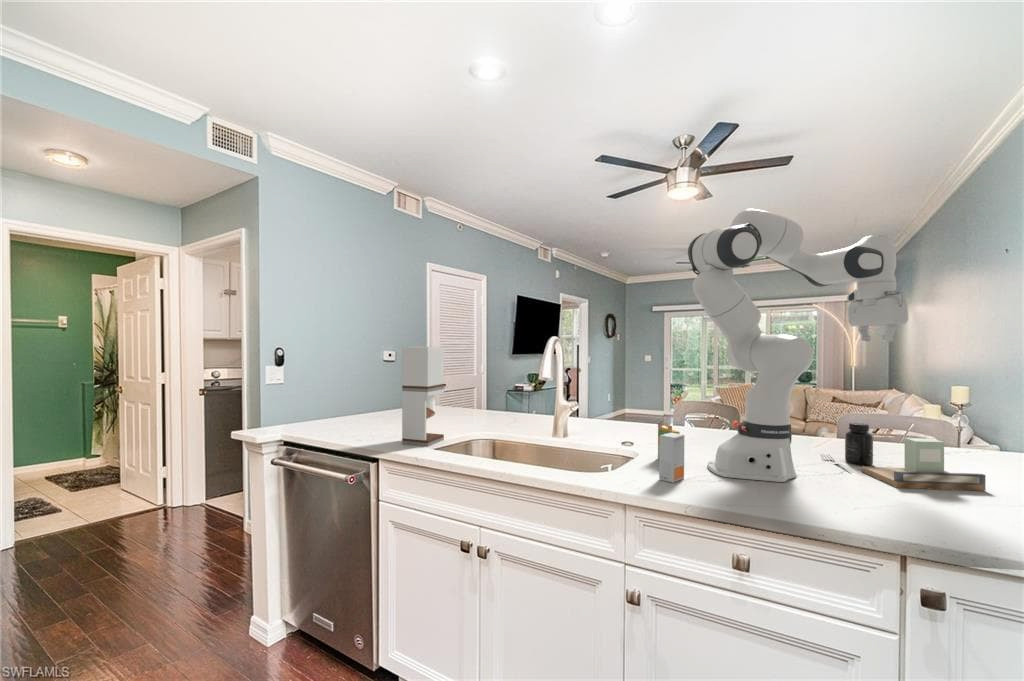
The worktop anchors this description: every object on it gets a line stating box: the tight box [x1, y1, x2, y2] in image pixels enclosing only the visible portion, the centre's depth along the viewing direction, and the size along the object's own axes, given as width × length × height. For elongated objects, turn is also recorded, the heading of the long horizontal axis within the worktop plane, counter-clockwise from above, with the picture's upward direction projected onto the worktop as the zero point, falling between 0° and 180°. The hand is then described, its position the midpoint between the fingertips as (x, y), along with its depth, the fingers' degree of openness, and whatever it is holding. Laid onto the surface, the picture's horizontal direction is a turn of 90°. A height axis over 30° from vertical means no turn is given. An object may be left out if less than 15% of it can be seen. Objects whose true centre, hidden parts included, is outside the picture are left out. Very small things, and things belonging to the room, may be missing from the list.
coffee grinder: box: [401, 346, 445, 447], centre depth 168 cm, size 11×11×35 cm
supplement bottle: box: [844, 422, 874, 467], centre depth 139 cm, size 7×7×12 cm
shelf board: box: [861, 466, 986, 491], centre depth 121 cm, size 20×14×4 cm
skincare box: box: [658, 433, 685, 484], centre depth 123 cm, size 6×4×12 cm
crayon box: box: [657, 421, 681, 460], centre depth 141 cm, size 7×3×12 cm, turn 16°
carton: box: [904, 437, 945, 473], centre depth 118 cm, size 4×6×10 cm, turn 83°
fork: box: [820, 453, 855, 474], centre depth 133 cm, size 3×24×2 cm, turn 168°
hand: (876, 341), depth 131 cm, fingers open, 8 cm apart
